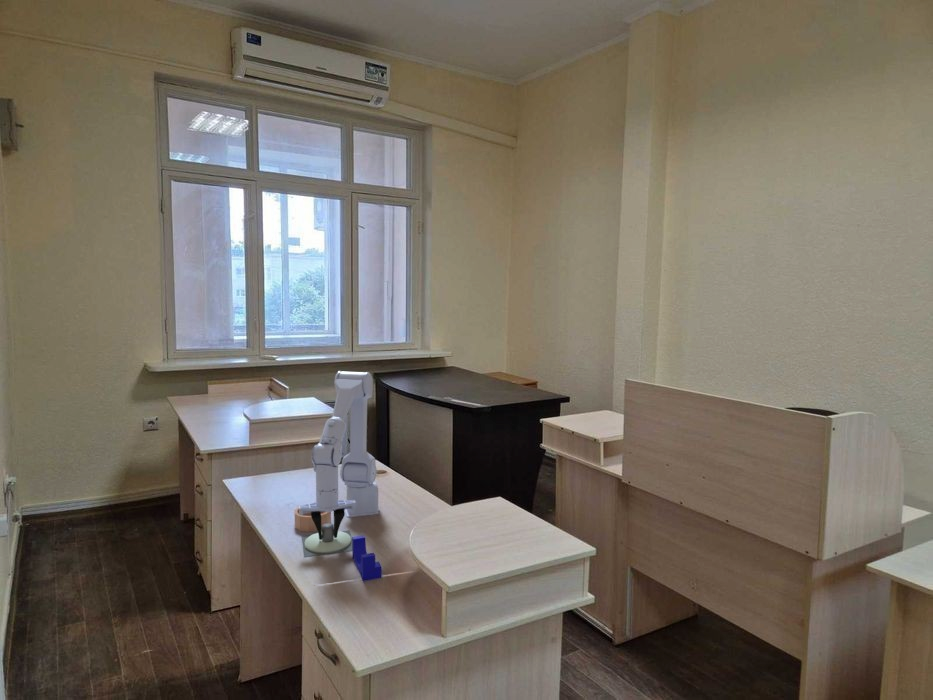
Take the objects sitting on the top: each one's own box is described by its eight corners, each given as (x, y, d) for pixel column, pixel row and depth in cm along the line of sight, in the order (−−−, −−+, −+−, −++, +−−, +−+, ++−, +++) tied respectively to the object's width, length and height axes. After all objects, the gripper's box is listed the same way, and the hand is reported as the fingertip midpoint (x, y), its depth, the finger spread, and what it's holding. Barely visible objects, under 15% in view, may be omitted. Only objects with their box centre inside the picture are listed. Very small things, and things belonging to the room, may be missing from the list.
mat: (349, 531, 163) (349, 530, 163) (355, 551, 151) (355, 550, 151) (301, 537, 159) (301, 535, 159) (304, 558, 147) (304, 557, 147)
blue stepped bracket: (381, 578, 138) (381, 554, 138) (362, 581, 136) (362, 557, 136) (370, 556, 149) (369, 534, 149) (352, 559, 147) (352, 536, 147)
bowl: (329, 516, 174) (328, 502, 173) (332, 529, 164) (332, 514, 164) (294, 520, 171) (293, 505, 170) (295, 534, 161) (295, 518, 161)
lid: (347, 531, 163) (347, 514, 162) (353, 549, 152) (353, 532, 151) (303, 536, 159) (303, 519, 158) (306, 556, 148) (305, 538, 147)
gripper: (299, 496, 147) (300, 547, 149) (356, 490, 152) (357, 540, 154) (298, 486, 154) (299, 535, 156) (353, 481, 159) (353, 529, 160)
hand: (327, 537), depth 155 cm, fingers open, 3 cm apart
